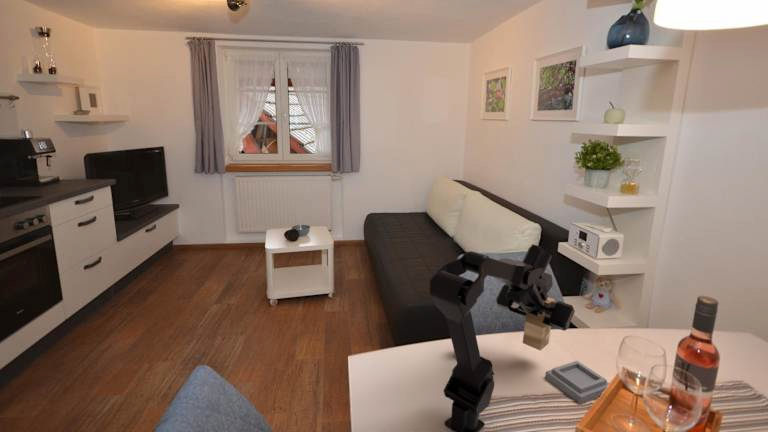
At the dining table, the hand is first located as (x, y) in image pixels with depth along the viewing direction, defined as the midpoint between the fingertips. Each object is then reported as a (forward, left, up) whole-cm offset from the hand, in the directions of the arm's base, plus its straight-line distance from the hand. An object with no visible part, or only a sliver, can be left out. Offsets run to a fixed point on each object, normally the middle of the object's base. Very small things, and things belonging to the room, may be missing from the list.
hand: (540, 319), depth 114 cm
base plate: (-1, -12, -13) cm, 18 cm away
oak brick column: (-1, 0, -7) cm, 7 cm away
